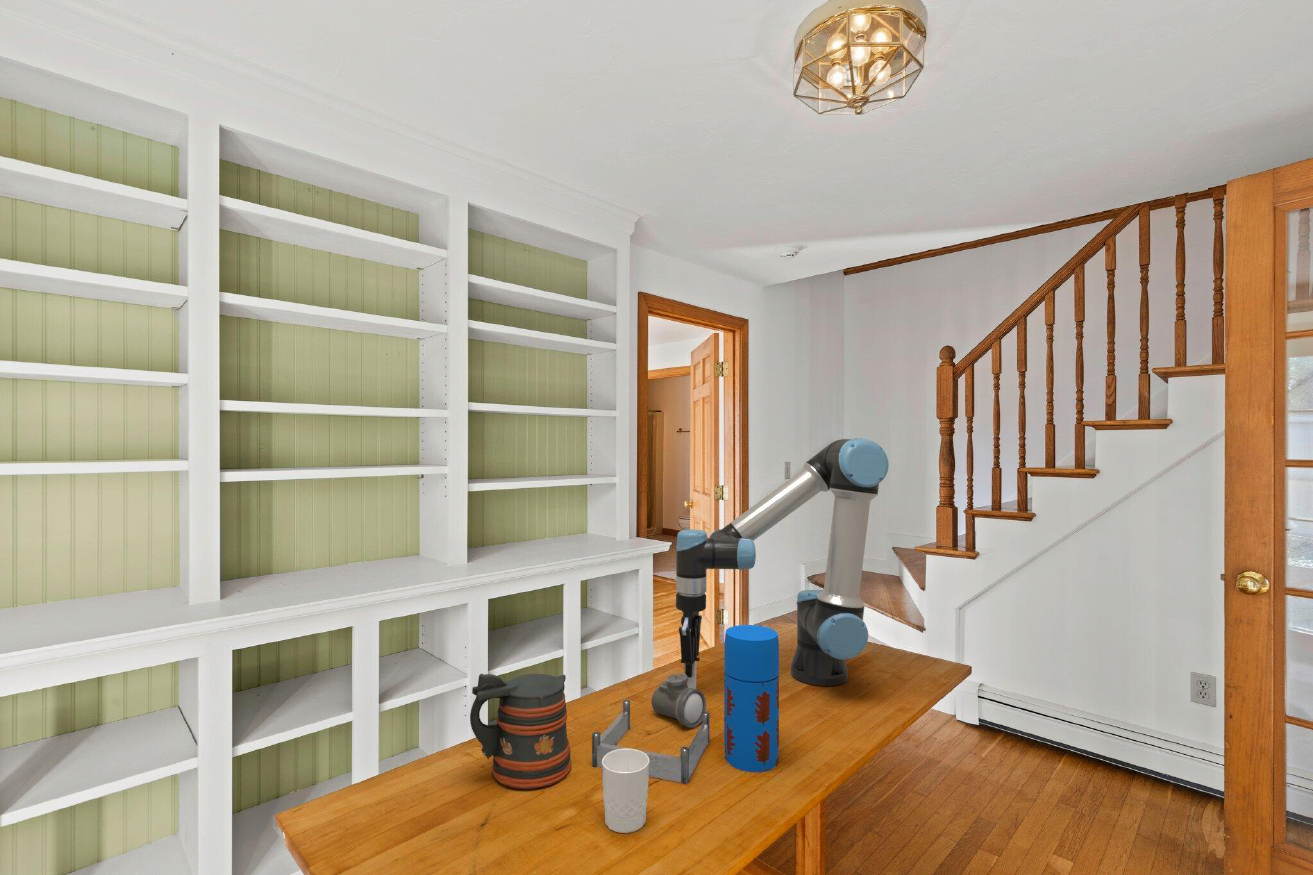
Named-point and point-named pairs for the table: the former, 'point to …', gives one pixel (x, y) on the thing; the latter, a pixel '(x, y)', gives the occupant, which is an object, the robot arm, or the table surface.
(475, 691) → the beer stein
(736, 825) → the table surface
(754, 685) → the thermos
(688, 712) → the pipe fitting
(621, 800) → the white cup
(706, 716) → the grey metal frame
